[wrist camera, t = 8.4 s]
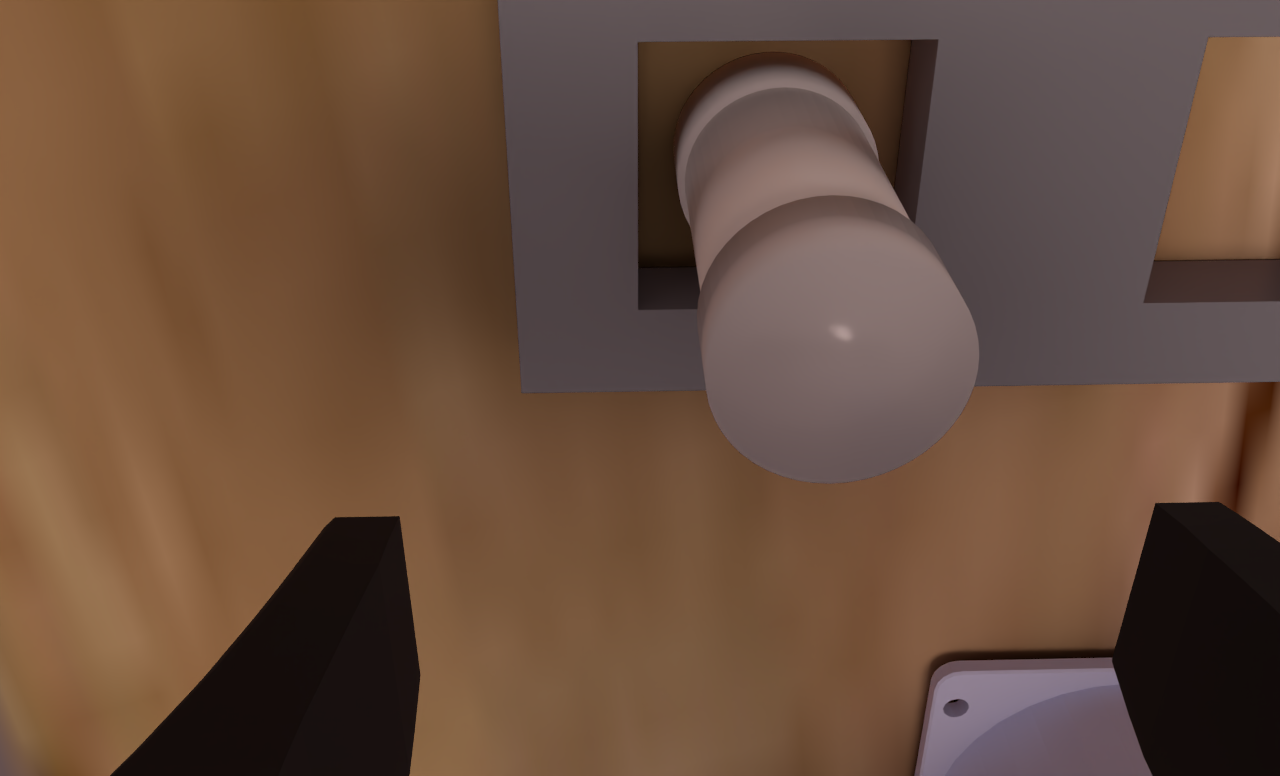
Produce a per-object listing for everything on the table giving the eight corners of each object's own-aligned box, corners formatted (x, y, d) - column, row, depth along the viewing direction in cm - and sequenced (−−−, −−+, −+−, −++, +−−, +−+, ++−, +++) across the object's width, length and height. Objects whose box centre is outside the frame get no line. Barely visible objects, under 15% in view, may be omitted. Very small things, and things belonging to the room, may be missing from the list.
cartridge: (852, 231, 20) (959, 480, 14) (672, 234, 20) (702, 485, 14) (870, 51, 18) (998, 245, 13) (674, 53, 18) (708, 250, 12)
